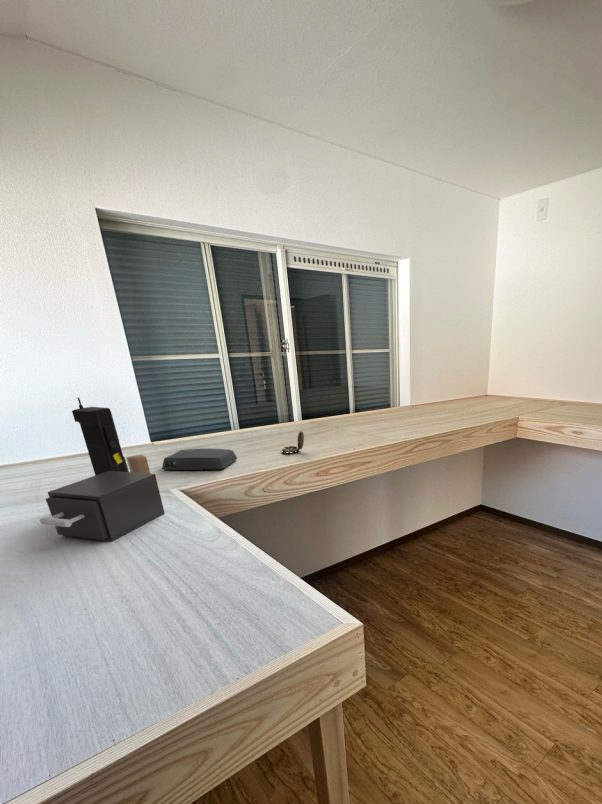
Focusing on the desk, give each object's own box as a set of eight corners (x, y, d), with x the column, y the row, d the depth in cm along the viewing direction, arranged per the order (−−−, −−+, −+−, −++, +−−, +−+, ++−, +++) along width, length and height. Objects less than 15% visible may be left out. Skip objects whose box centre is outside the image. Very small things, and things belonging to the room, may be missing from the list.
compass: (284, 449, 149) (281, 429, 146) (305, 449, 149) (304, 429, 146) (278, 455, 142) (275, 434, 139) (301, 455, 141) (298, 434, 138)
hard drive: (182, 459, 139) (180, 447, 137) (238, 459, 138) (237, 447, 136) (161, 471, 127) (158, 458, 125) (222, 471, 126) (220, 458, 124)
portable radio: (141, 497, 106) (115, 396, 96) (118, 505, 101) (88, 400, 91) (121, 493, 109) (93, 395, 99) (98, 501, 104) (67, 398, 94)
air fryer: (112, 541, 83) (98, 496, 79) (62, 535, 86) (47, 492, 82) (164, 513, 96) (155, 473, 92) (120, 509, 99) (109, 470, 95)
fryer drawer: (84, 549, 78) (71, 511, 75) (37, 543, 80) (23, 506, 77) (154, 513, 93) (146, 480, 90) (113, 509, 96) (103, 477, 93)
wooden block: (133, 484, 116) (125, 456, 112) (148, 481, 118) (141, 453, 115) (137, 487, 113) (130, 459, 110) (153, 484, 116) (146, 456, 112)
